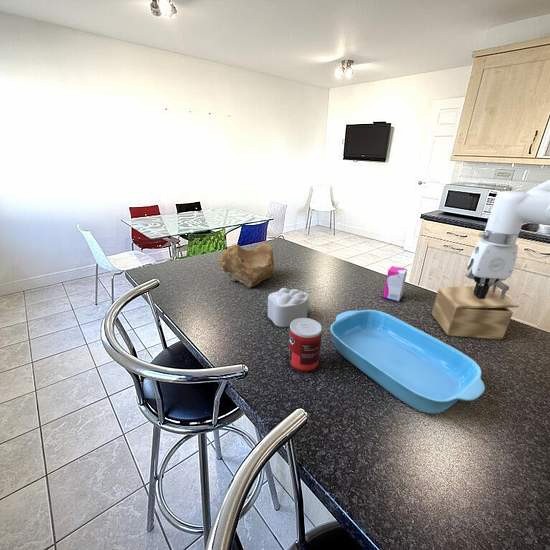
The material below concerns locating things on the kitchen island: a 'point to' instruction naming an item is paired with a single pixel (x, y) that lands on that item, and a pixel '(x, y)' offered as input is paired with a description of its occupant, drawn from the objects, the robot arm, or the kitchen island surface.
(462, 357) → the casserole dish
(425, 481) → the kitchen island surface
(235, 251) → the jagged tan rock
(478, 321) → the chest
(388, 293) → the supplement box
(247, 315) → the kitchen island surface
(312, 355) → the canned food
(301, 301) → the lumpy-topped squat cylinder
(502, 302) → the lid
